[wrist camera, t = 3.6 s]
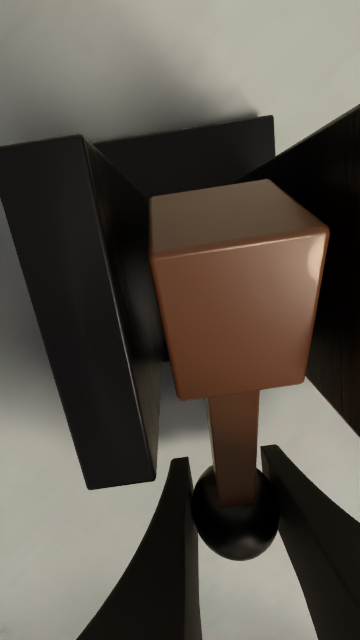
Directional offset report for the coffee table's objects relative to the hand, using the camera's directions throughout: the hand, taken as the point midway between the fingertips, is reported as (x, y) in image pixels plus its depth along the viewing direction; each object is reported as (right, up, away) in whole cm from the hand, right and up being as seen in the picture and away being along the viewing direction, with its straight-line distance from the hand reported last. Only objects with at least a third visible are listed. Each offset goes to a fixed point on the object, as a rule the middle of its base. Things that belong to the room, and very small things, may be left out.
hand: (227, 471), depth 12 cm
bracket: (-1, +9, 0) cm, 9 cm away
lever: (-1, +4, -3) cm, 5 cm away
